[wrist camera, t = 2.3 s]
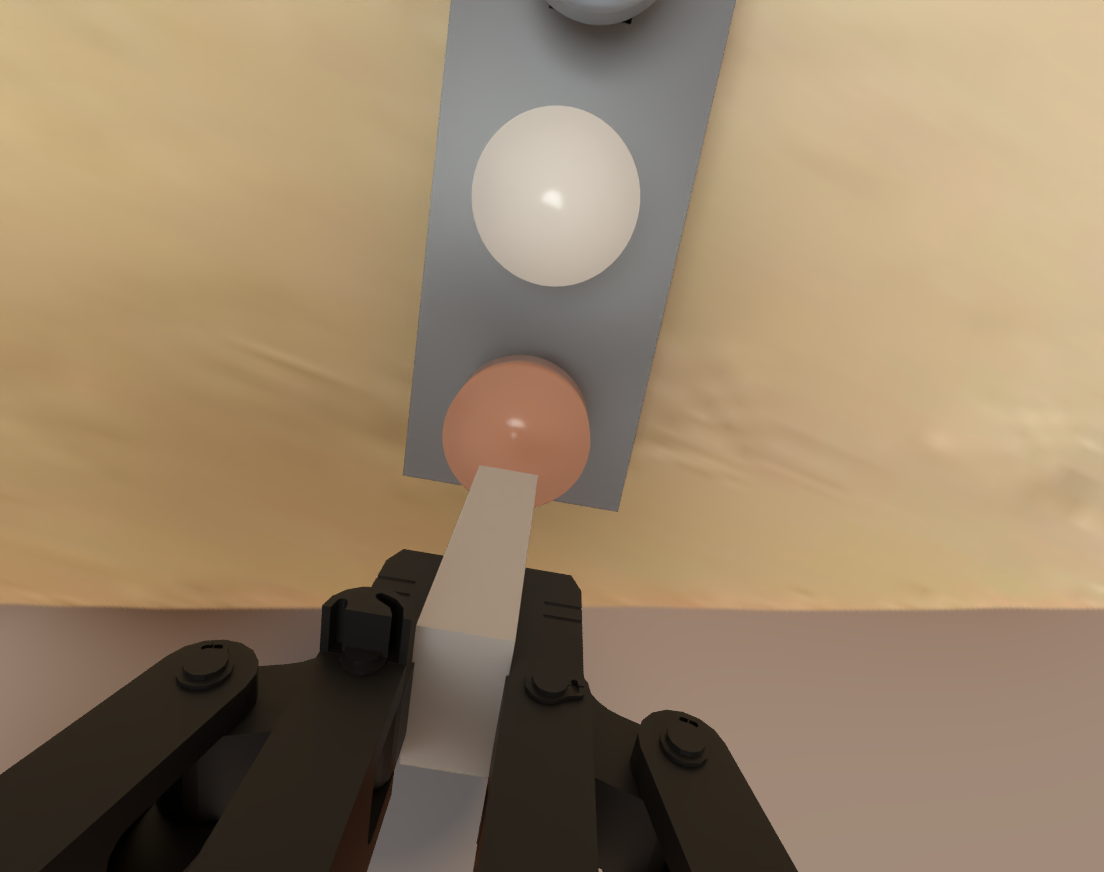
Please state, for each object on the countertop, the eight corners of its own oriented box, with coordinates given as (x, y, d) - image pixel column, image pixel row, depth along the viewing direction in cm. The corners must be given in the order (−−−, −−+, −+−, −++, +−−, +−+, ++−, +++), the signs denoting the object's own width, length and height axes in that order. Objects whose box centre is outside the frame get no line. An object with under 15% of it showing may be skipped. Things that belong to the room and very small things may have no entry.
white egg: (490, 260, 26) (461, 271, 19) (507, 130, 25) (483, 90, 18) (607, 282, 26) (620, 299, 19) (632, 154, 25) (657, 122, 18)
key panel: (431, 433, 33) (402, 475, 28) (495, -124, 25) (473, -228, 20) (609, 464, 33) (617, 511, 28) (728, -77, 26) (774, -166, 20)
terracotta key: (467, 431, 29) (434, 495, 22) (481, 324, 27) (451, 356, 20) (573, 450, 29) (575, 519, 22) (594, 344, 27) (603, 383, 20)
